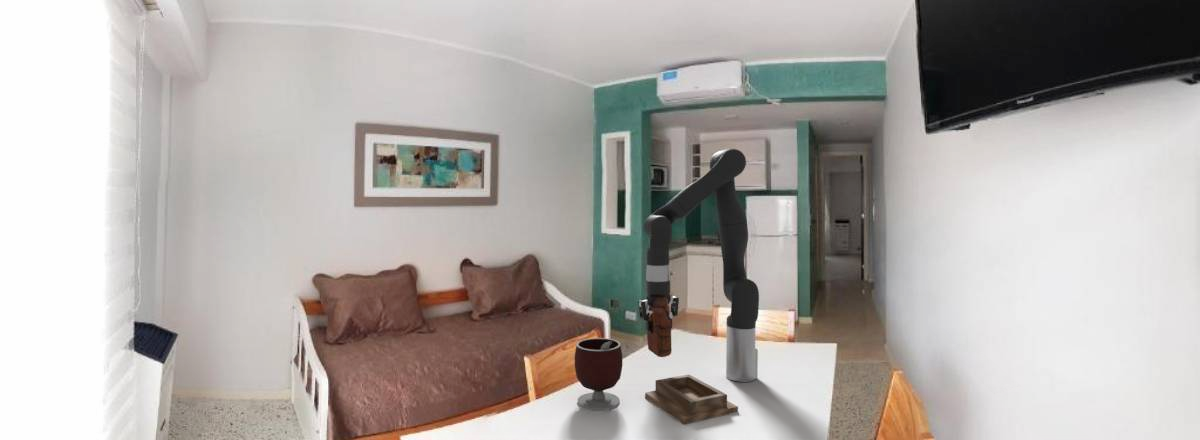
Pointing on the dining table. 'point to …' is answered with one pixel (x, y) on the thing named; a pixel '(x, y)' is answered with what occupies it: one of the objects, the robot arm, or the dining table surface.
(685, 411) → the cradle
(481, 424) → the dining table surface
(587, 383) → the mate gourd
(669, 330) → the wooden figurine
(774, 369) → the dining table surface
